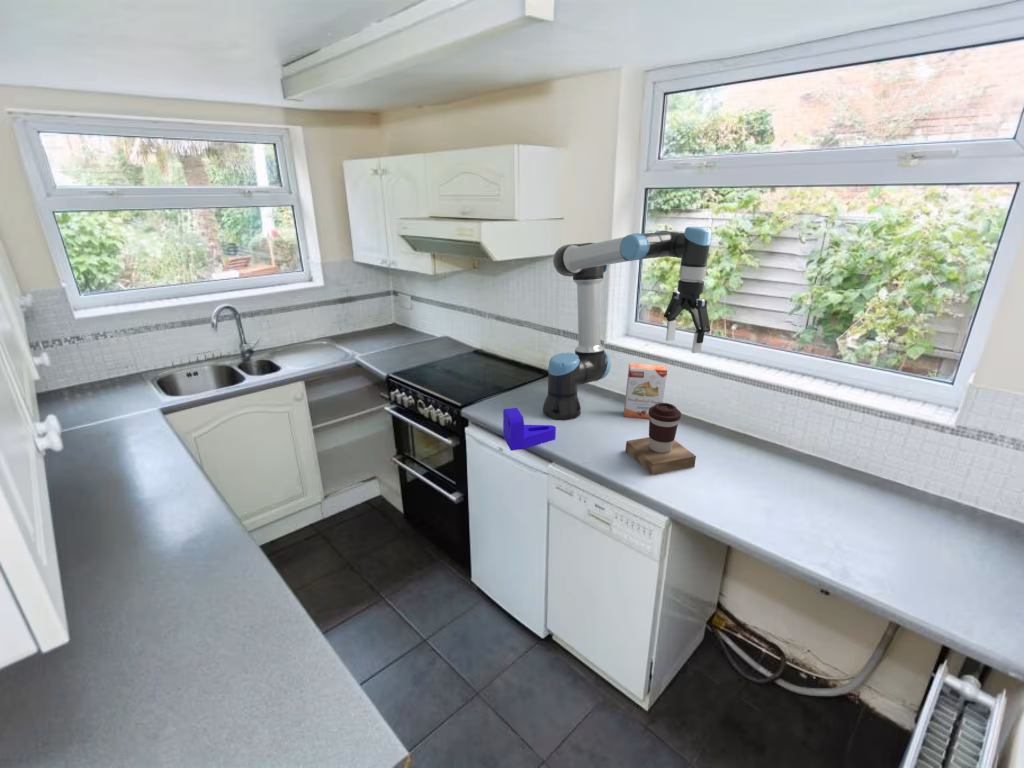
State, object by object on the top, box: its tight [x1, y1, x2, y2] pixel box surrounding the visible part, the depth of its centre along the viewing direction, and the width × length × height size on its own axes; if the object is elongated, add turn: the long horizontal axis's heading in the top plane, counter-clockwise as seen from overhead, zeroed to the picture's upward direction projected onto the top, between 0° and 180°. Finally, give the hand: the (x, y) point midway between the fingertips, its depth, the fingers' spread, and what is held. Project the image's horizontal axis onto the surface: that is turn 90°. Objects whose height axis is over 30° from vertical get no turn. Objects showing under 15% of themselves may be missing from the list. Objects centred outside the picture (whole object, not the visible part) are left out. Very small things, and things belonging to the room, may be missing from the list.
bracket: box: [502, 407, 557, 452], centre depth 178 cm, size 18×11×12 cm, turn 105°
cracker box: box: [623, 362, 668, 420], centre depth 195 cm, size 14×6×21 cm, turn 80°
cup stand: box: [625, 436, 697, 476], centre depth 167 cm, size 16×16×4 cm
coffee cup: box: [648, 402, 682, 453], centre depth 164 cm, size 10×10×15 cm
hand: (682, 346), depth 162 cm, fingers open, 13 cm apart
